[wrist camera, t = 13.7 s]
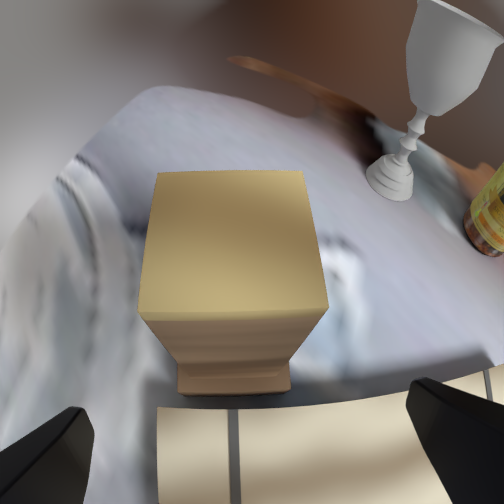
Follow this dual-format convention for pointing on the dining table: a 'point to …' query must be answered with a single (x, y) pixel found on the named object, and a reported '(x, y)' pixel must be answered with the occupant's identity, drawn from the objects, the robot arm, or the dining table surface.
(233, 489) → the board
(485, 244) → the sauce bottle
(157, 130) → the dining table surface
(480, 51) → the chalice
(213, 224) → the tan pillar on plinth
